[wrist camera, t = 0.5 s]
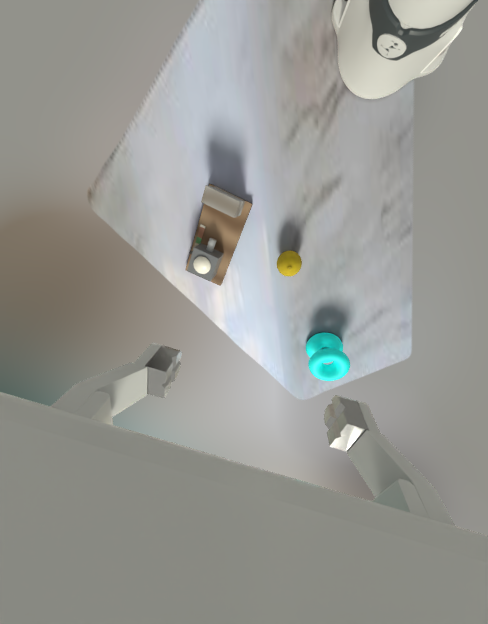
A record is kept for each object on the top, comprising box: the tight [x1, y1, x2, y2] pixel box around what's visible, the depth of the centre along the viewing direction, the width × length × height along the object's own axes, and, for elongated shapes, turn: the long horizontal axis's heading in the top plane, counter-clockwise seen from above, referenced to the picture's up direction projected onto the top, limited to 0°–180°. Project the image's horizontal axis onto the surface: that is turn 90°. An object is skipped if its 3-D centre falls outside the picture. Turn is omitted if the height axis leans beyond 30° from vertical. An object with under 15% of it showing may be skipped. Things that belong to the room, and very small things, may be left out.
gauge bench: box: [186, 184, 252, 285], centre depth 48 cm, size 21×10×8 cm, turn 158°
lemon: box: [277, 251, 302, 276], centre depth 48 cm, size 6×6×8 cm
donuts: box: [306, 333, 350, 381], centre depth 58 cm, size 10×10×10 cm
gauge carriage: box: [187, 238, 224, 281], centre depth 50 cm, size 9×8×5 cm
